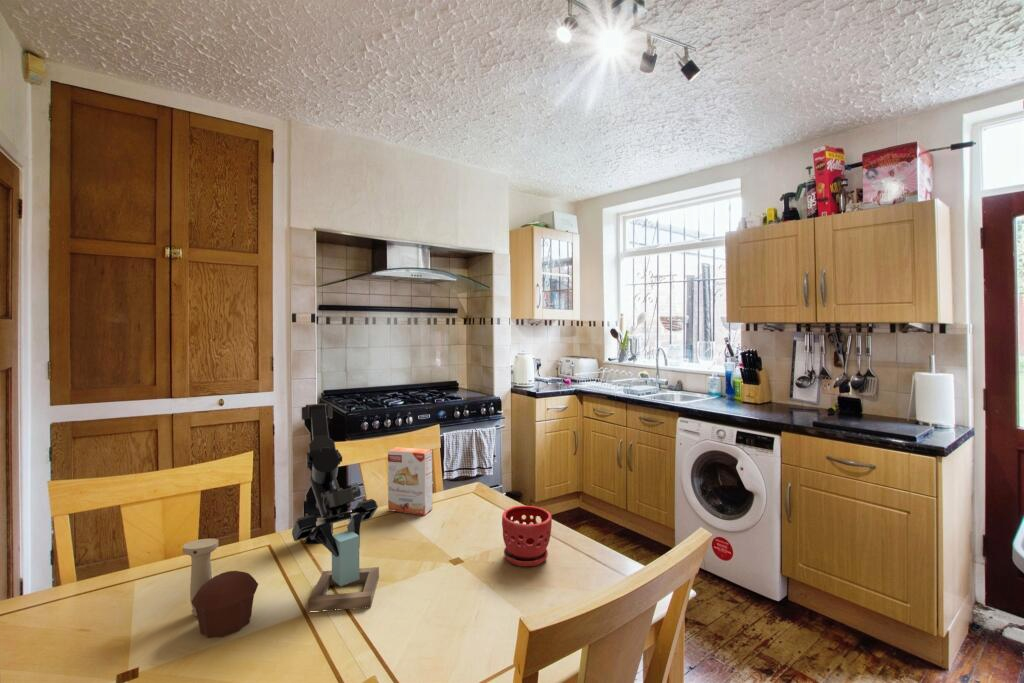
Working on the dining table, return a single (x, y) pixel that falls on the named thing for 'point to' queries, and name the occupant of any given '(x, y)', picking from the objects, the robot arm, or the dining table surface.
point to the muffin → (225, 603)
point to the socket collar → (346, 600)
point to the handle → (199, 564)
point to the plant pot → (526, 535)
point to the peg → (346, 558)
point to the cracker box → (410, 480)
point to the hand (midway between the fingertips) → (348, 552)
